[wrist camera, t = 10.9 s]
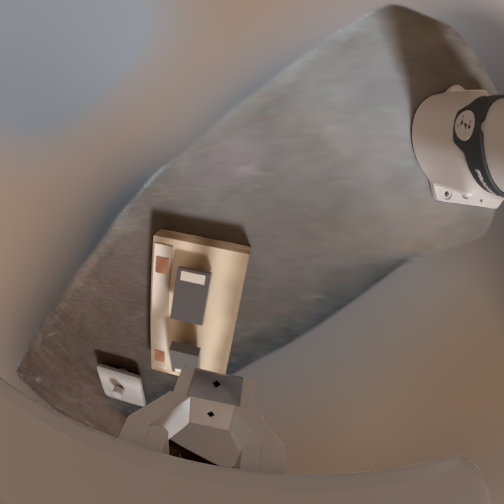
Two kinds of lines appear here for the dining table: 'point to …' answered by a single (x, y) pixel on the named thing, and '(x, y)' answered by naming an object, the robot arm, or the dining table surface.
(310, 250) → the dining table surface
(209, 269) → the switch panel
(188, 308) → the plate
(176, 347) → the plate
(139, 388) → the light switch
